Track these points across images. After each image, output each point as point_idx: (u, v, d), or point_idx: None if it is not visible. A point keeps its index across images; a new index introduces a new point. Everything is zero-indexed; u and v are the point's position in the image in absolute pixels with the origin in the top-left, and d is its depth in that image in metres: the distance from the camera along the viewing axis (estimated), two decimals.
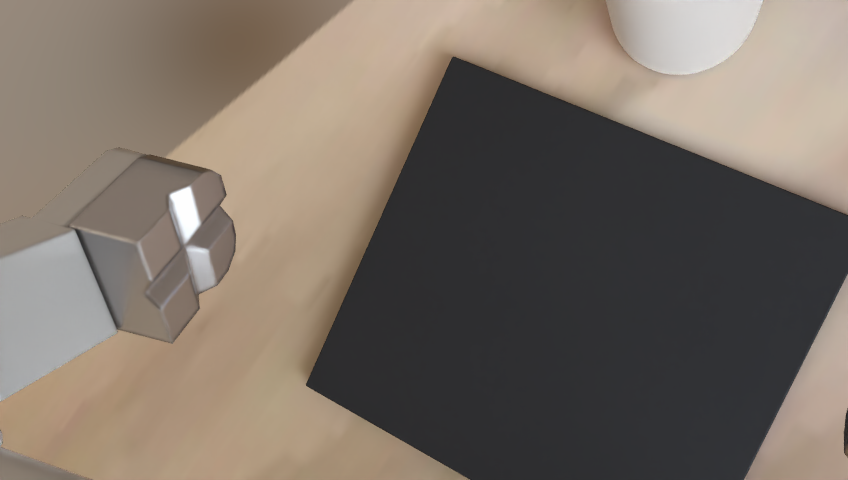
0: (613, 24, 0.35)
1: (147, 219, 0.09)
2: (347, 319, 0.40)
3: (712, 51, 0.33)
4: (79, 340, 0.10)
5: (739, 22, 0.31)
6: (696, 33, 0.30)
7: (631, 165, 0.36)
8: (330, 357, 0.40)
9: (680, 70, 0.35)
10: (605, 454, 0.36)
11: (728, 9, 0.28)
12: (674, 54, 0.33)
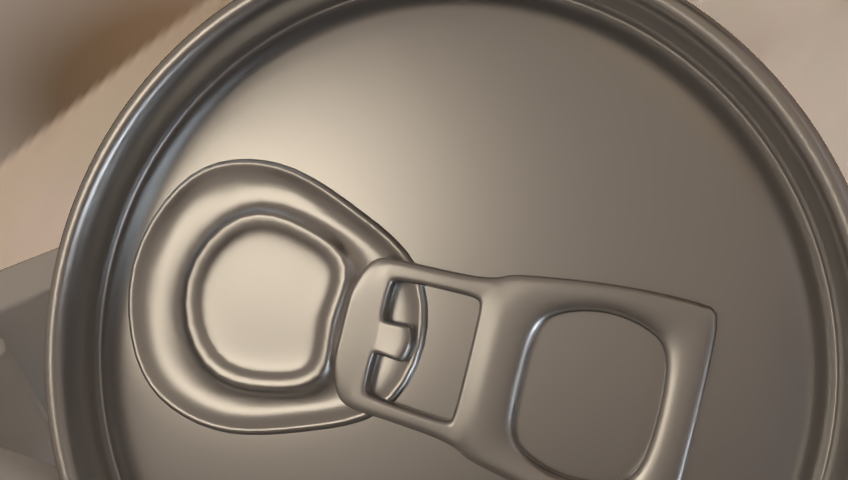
0: None
1: None
2: None
3: None
4: None
5: None
6: None
7: None
8: None
9: None
10: None
11: None
12: None
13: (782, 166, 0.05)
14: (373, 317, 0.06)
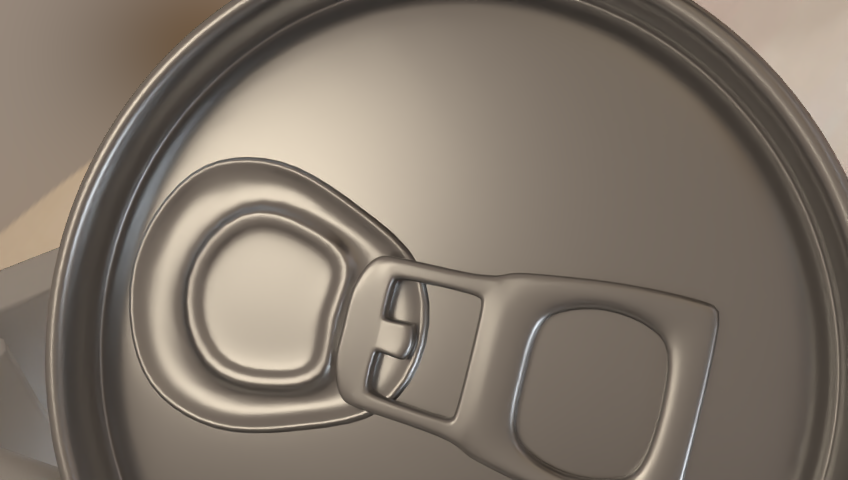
0: None
1: None
2: None
3: None
4: None
5: None
6: None
7: None
8: None
9: None
10: None
11: None
12: None
13: (784, 165, 0.05)
14: (375, 314, 0.06)
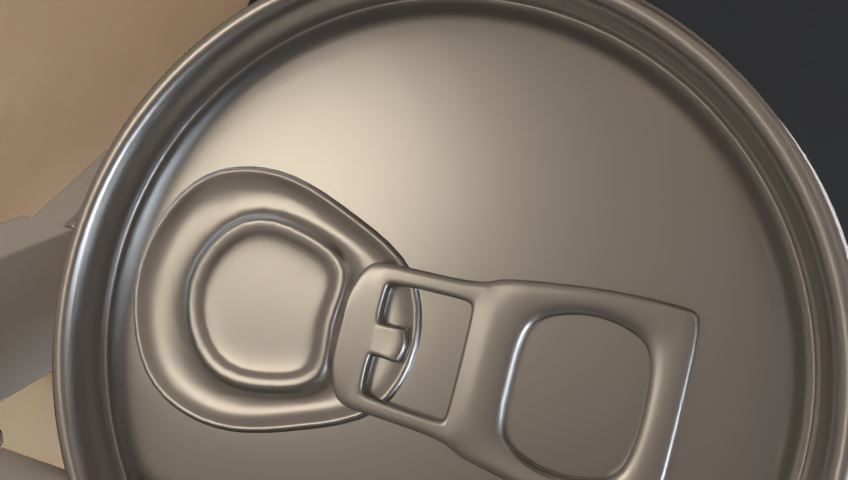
0: None
1: None
2: None
3: None
4: None
5: None
6: None
7: None
8: None
9: None
10: None
11: None
12: None
13: (762, 175, 0.05)
14: (370, 320, 0.06)
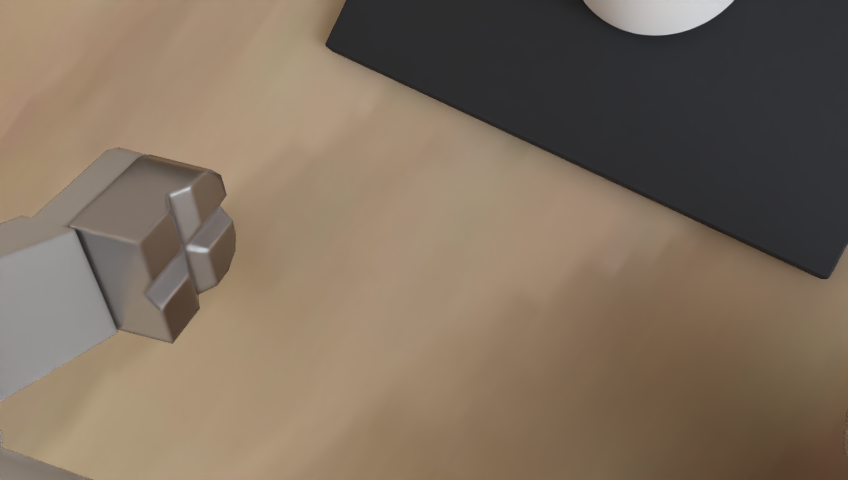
0: None
1: (147, 219, 0.09)
2: None
3: (699, 0, 0.24)
4: (79, 340, 0.10)
5: None
6: None
7: None
8: (359, 6, 0.31)
9: (655, 28, 0.27)
10: (727, 98, 0.27)
11: None
12: (649, 1, 0.24)
13: None
14: None
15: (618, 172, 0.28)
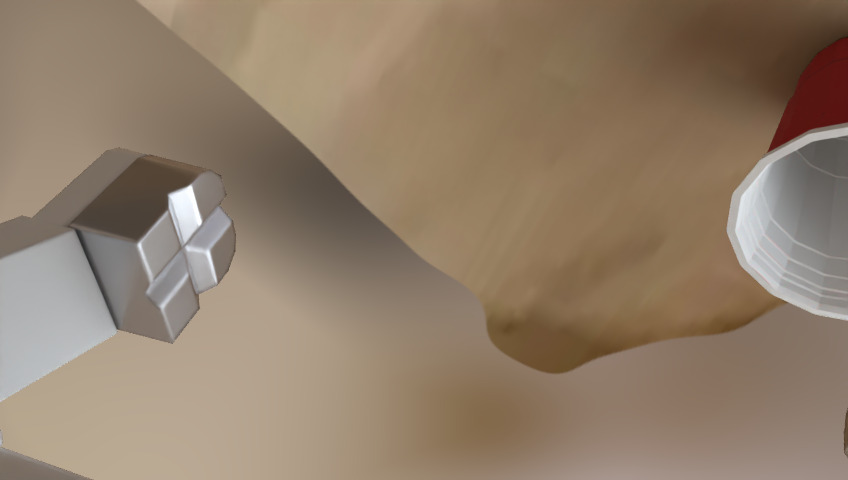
0: None
1: (147, 219, 0.09)
2: None
3: None
4: (79, 340, 0.10)
5: None
6: None
7: None
8: None
9: None
10: None
11: None
12: None
13: None
14: None
15: None
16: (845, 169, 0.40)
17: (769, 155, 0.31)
